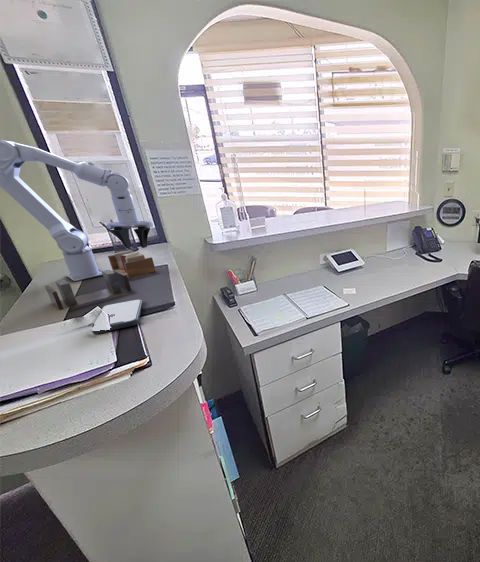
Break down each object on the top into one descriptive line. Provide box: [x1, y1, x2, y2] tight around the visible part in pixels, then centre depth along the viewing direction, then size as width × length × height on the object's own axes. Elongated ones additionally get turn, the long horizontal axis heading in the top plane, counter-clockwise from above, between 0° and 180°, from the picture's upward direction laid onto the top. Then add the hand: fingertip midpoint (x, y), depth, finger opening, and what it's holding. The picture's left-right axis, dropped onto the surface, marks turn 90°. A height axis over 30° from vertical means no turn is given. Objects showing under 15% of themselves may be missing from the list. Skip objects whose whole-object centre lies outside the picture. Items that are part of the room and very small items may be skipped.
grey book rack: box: [44, 269, 133, 311], centre depth 88 cm, size 16×8×7 cm, turn 145°
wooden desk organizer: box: [107, 249, 157, 279], centre depth 110 cm, size 16×8×7 cm, turn 55°
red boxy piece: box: [120, 251, 140, 272], centre depth 110 cm, size 2×5×6 cm, turn 163°
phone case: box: [91, 298, 143, 334], centre depth 78 cm, size 9×2×16 cm
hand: (136, 247), depth 113 cm, fingers open, 5 cm apart
